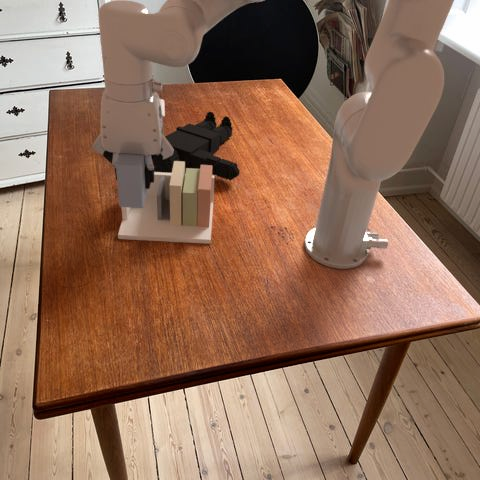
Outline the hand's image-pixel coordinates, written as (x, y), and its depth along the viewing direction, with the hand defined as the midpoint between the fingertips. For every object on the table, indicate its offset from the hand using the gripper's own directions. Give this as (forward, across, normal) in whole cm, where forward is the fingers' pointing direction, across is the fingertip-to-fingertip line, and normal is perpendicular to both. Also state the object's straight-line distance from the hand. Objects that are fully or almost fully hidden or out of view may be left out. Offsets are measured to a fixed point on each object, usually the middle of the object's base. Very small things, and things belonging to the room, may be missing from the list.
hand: (135, 183), depth 91 cm
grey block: (+1, 0, 0) cm, 1 cm away
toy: (+13, -7, -32) cm, 35 cm away
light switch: (+13, +8, -58) cm, 60 cm away
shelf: (+12, -5, -6) cm, 14 cm away
